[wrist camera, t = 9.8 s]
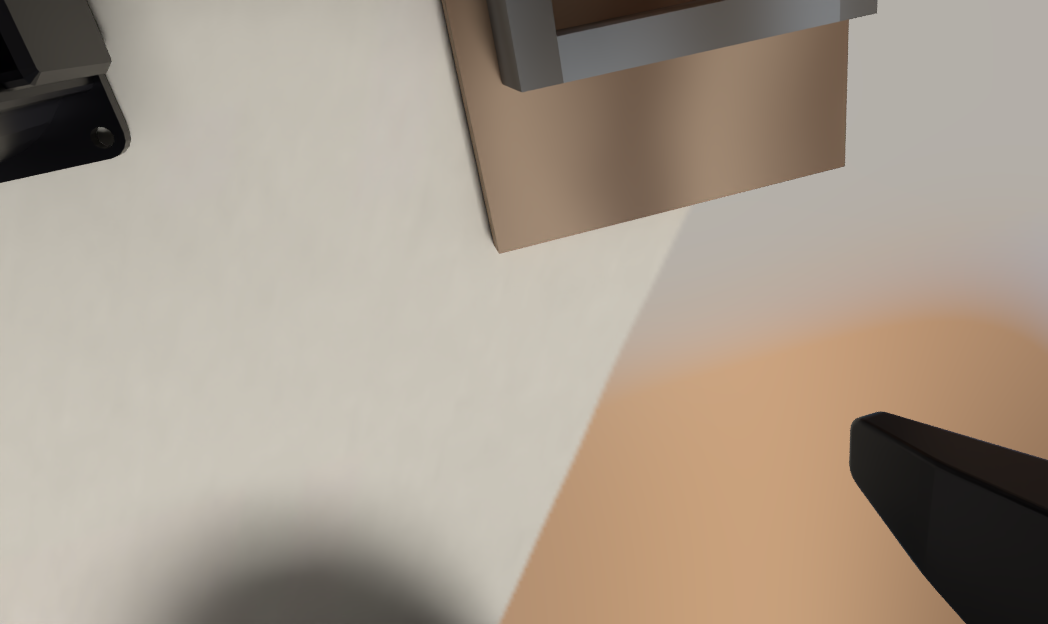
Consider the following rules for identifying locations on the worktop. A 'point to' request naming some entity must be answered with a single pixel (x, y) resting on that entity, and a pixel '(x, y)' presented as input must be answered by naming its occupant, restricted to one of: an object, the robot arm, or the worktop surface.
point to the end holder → (644, 104)
